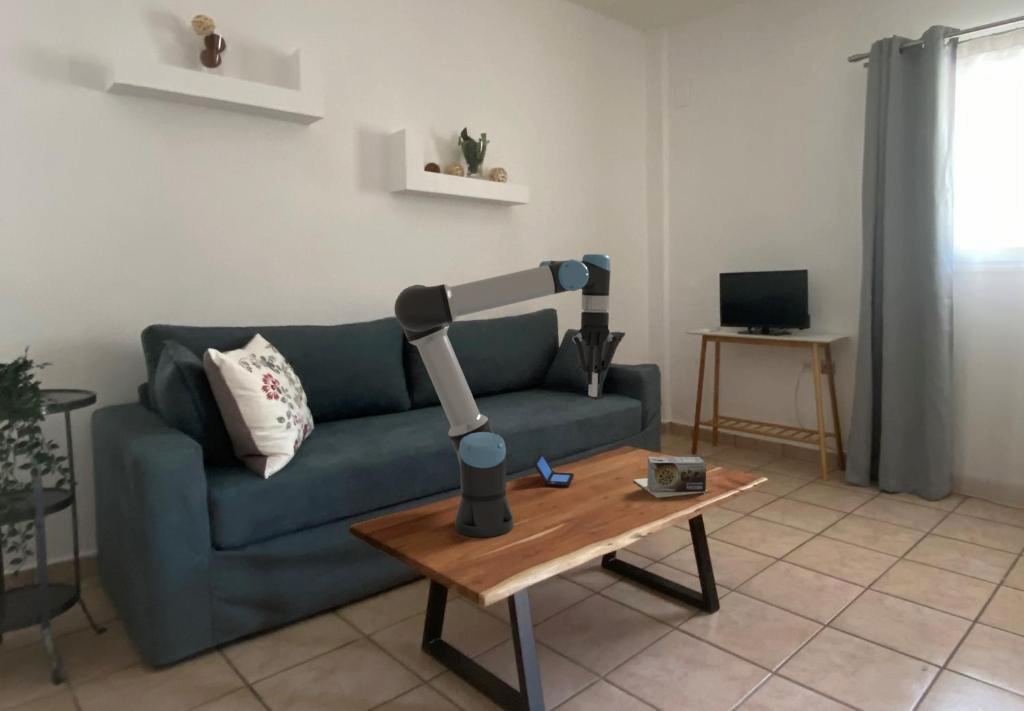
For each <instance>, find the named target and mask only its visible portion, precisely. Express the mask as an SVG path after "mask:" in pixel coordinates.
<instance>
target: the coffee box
mask: <svg viewBox="0 0 1024 711" xmlns="http://www.w3.org/2000/svg"><path fill="white" fill-rule="evenodd" d="M647 478H648V479H647V486H648V488H649V489H650V491H651V492H705V493H707V492H706V490H707V484H706V483H707V462H706V461H705V459H704V457H702V456H648V457H647Z"/></svg>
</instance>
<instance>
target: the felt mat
mask: <svg viewBox="0 0 1024 711" xmlns="http://www.w3.org/2000/svg"><path fill="white" fill-rule="evenodd" d="M647 479H648V477H646V478H636V479H633V482H634V483H636V484H637V485H638V486H640V488H642V489H644V490H646V491H647V492H648V493H649V494H651V495H653V497H655V498H657V499H658V498H666V497H675V496H684V495H686V496H687V495H694V494H703V493H704V494H705V493H707V492H708V490H707V489H706V492H651V491H650V489H649V488H648V486H647Z"/></svg>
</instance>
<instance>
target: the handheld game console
mask: <svg viewBox="0 0 1024 711" xmlns="http://www.w3.org/2000/svg"><path fill="white" fill-rule="evenodd" d="M533 465H534V467H535V469H536V470H537V472H538V474H539V475H540V477H541V478H542V480H543V482H544V487H545V488H547V487H550V488H563V487H564V488H565V489H566V487H567V488H569V487H570V486H571V483H572V481H573V480H574V477H575V476H574V473H572V472H556V471H554V470H553V469H552V467H551V466H550V464H549V463H548V460H547V459H546V457H545V455H544V454H543V453H540V454H539V456H538V457H537V458H536V459H535V462H534V463H533Z"/></svg>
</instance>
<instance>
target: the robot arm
mask: <svg viewBox="0 0 1024 711" xmlns="http://www.w3.org/2000/svg"><path fill="white" fill-rule="evenodd" d="M611 273H612V272H611V258H610V256H609V255H607V254H601V253H599V254H598V253H595V254H593V253H592V254H591V253H589V254H588V253H586V254H583V256H582V259H581V261H579V259H569V260H543V261H541V262H540V263H539V265H538V267H533V268H529V269H525V270H524V269H523V270H521V271H520V270H519V271H516V272H511V273H507V274H502V275H497V276H494V277H489V278H484V279H481V280H475V281H471V282H467V283H462V284H459V285H458V284H457V285H452V286H450V285H447V284H446V283H443V284H438V285H433V286H425V285H421V284H413V285H411V286H408V287H406V288H404V289H403V290H402V291H401V292H400V293H399V295H397V298H396V300H395V302H394V309H393V310H394V316H395V318H396V320H397V322H398V323H399V325H401V327H402V329H403V331H404V334H405V336H406V338H407V341H408V343H409V344H411V345H413V346H415V347H416V348H417V350H418V352H419V354H420V357H421V359H422V362H423V364H424V366H425V369H426V370H427V373H428V376H429V377H430V380H431V382H432V385H433V387H434V389H435V393H436V394H437V397H438V399H439V401H440V403H441V407H442V408H443V411H444V412H445V415H446V418H447V421H448V422H449V425H450V428H449V430H448V437H449V439H450V441H451V444H452V446H453V449H454V451H455V453H456V455H457V459H458V463H459V473H460V501H459V504H458V506H457V510H456V514H455V518H454V528H455V531H456V532H458V533H459V534H462V535H464V536H467V537H472V538H473V537H475V538H491V537H497V536H500V535H504V534H506V533H508V532H510V531H512V530H513V528H514V526H515V524H514V521H515V519H514V514H513V512H512V509H511V506H510V504H509V501H508V498H507V472H506V471H507V470H506V469H507V468H506V467H507V466H506V454H507V448H506V442H505V440H504V438H503V437H502V436H501V435H499V434H495V433H494V432H495V431H494V429H493V427H492V425H491V422H490V420H489V418H488V417H487V416H486V415H484V414H481V413H480V410H479V408H478V406H477V403H476V401H475V399H474V397H473V394H472V391H471V389H470V386H469V385H468V382H467V379H466V377H465V375H464V372H463V370H462V368H461V365H460V363H459V360H458V357H457V356H456V353H455V351H454V348H453V346H452V343H451V341H450V339H449V336H448V330H449V329H450V324H451V323H454V322H455V321H456V319H457V318H458V317H461V316H467V315H471V314H474V313H480V312H483V311H487V310H492V309H496V308H501V307H505V306H508V305H514V304H517V303H522V302H526V301H531V300H534V299H540V298H543V297H546V296H547V297H549V296H551V295H558V294H561V293H566V292H575V291H579V290H581V310H583V311H582V312H581V314H580V315H581V316H580V319H581V320H580V324H581V325H580V329H579V333H577V334H576V335H574V336H573V335H572V336H571V338H570V339H571V341H572V343H573V344H574V349H575V353H576V357H577V362H578V368H579V370H580V371H583V372H585V384H586V385H588V396H589V397H593V398H595V397H596V398H597V397H598V385H600V384H601V376H602V375H601V374H602V373H603V372H604V371H607V370H608V367H609V364H610V360H611V358H612V352H613V348H614V345H615V343H616V342H617V340H618V337H617V336H616V335H613V334H612V333H610V331H611V330H610V329H609V322H610V318H609V316H610V313H609V312H608V311H609V310H610V284H611ZM582 340H583V341H584V343H585V353H584V348H583V345H582ZM604 342H606V344H605V347H604ZM603 347H604V349H603ZM603 350H604V351H603Z"/></svg>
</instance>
